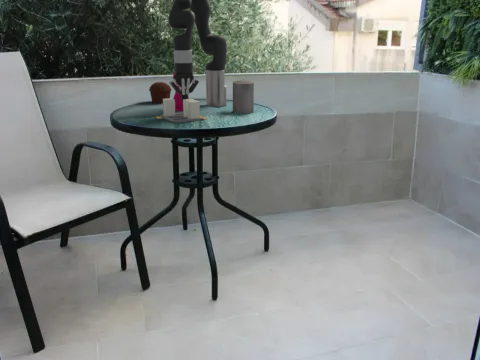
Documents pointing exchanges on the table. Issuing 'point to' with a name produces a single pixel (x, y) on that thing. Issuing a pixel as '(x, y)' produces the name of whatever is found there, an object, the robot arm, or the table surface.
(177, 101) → the pepper mill
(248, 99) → the pillar candle
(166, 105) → the tab inner
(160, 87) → the muffin
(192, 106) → the block
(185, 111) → the tab middle
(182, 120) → the switch box
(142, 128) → the table surface
